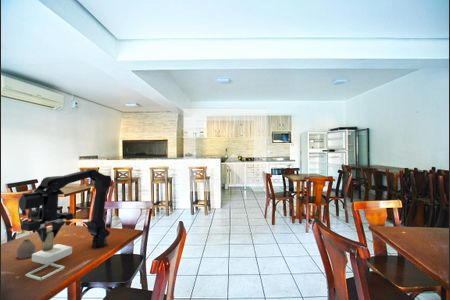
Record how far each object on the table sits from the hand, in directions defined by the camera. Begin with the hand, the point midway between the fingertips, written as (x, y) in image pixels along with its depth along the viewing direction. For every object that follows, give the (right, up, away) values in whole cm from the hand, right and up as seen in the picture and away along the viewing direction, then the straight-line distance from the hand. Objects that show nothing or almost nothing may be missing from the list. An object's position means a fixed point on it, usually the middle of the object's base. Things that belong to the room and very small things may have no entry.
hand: (48, 239), depth 99 cm
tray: (+2, -13, -4) cm, 14 cm away
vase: (-17, -12, +8) cm, 23 cm away
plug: (0, -4, 0) cm, 4 cm away
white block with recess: (-5, -13, +9) cm, 16 cm away
